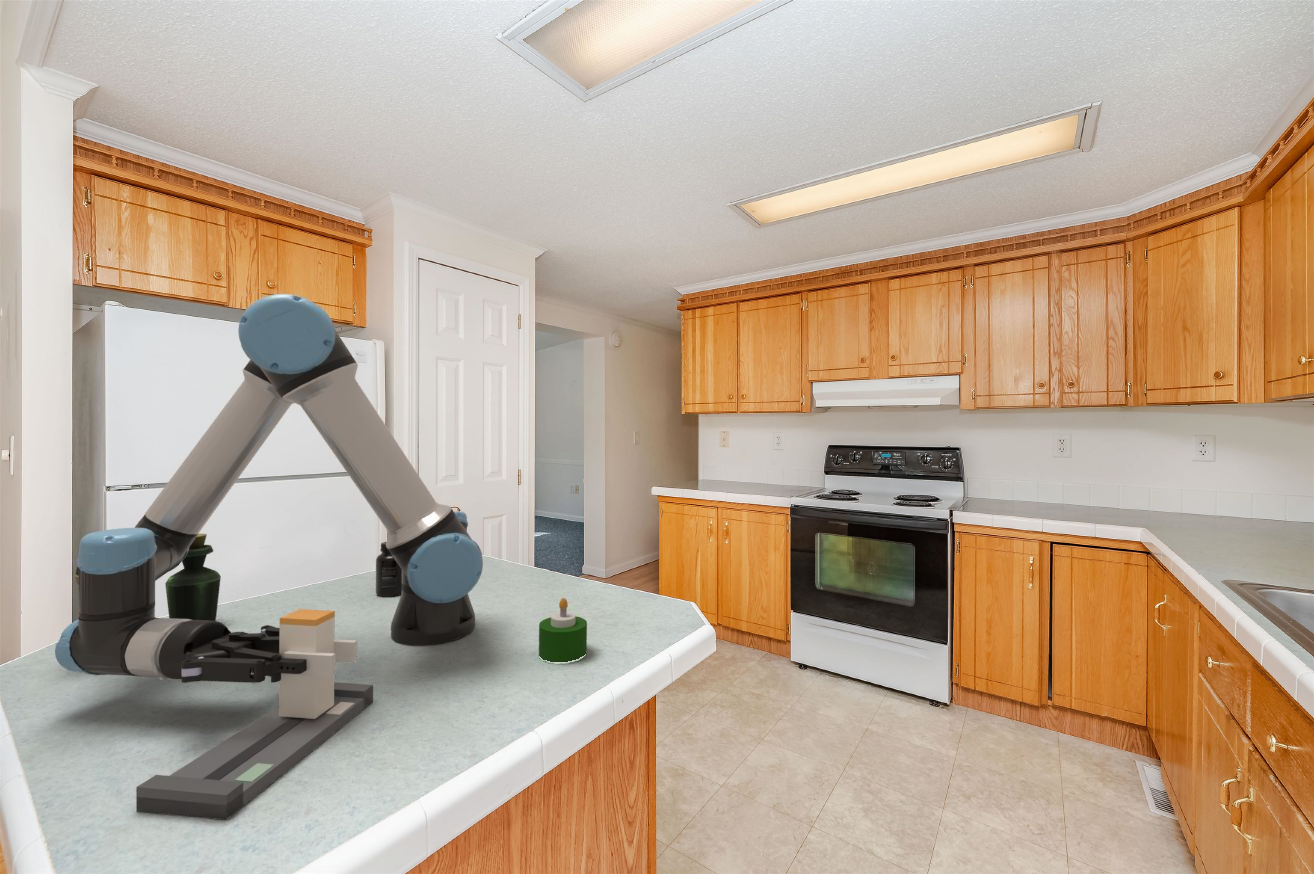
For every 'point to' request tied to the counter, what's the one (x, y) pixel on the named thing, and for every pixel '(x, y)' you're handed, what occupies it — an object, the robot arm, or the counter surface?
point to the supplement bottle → (387, 574)
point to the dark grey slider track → (248, 760)
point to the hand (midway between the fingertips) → (344, 658)
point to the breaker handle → (306, 635)
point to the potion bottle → (194, 586)
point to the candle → (562, 636)
